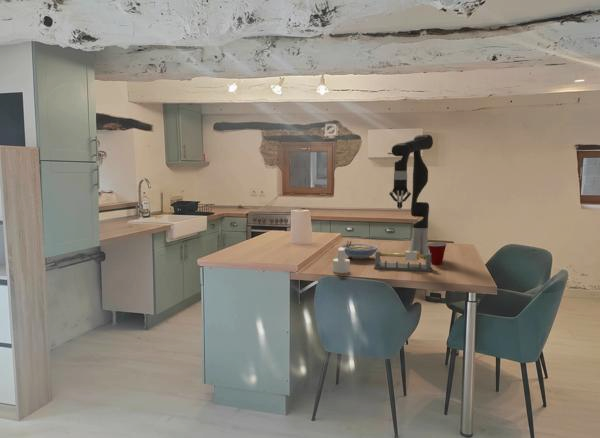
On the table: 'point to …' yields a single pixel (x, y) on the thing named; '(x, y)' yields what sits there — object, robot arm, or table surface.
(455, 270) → the table surface
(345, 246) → the ramen bowl
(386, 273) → the table surface
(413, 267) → the cable comb fixture
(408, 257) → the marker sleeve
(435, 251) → the plastic cup
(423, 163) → the robot arm
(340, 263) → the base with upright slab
